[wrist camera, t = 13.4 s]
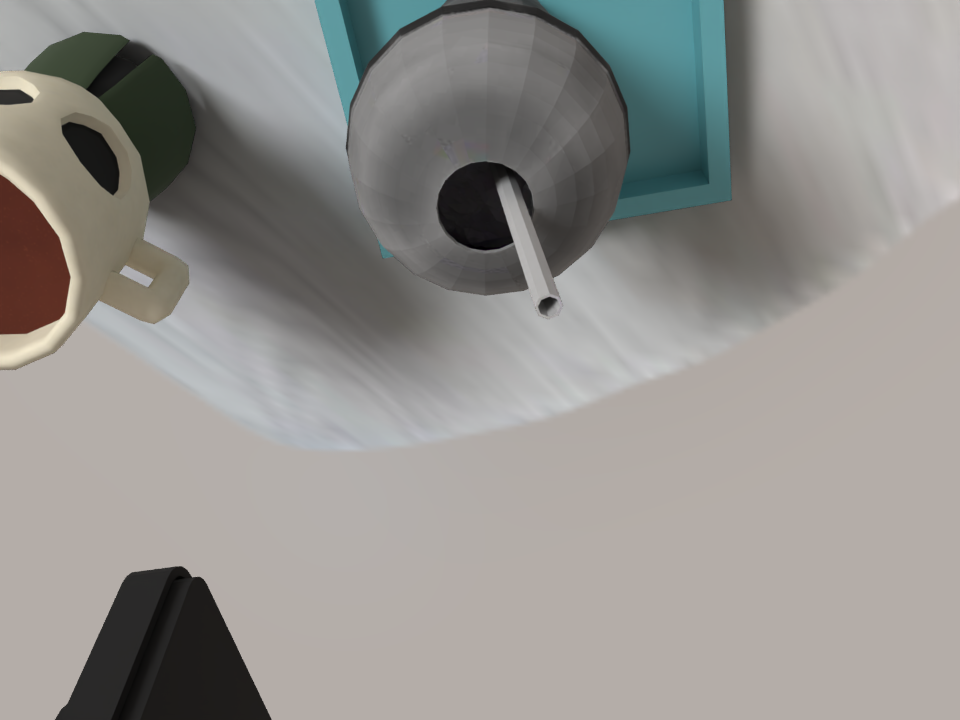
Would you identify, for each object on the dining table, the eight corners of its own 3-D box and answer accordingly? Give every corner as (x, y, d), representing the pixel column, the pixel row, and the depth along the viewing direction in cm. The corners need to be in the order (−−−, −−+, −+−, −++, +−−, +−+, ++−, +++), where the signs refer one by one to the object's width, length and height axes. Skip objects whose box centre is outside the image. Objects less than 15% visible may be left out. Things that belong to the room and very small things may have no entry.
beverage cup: (387, -63, 31) (249, 97, 14) (600, -62, 31) (717, 102, 14) (396, 144, 35) (295, 466, 18) (586, 146, 35) (665, 473, 18)
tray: (700, -217, 30) (714, -217, 28) (719, 180, 37) (731, 200, 35) (293, -130, 31) (281, -125, 29) (387, 236, 38) (382, 258, 36)
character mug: (286, 110, 35) (196, 257, 24) (212, 253, 38) (102, 440, 27) (3, -55, 32) (-246, 28, 21) (-52, 116, 35) (-294, 265, 24)
